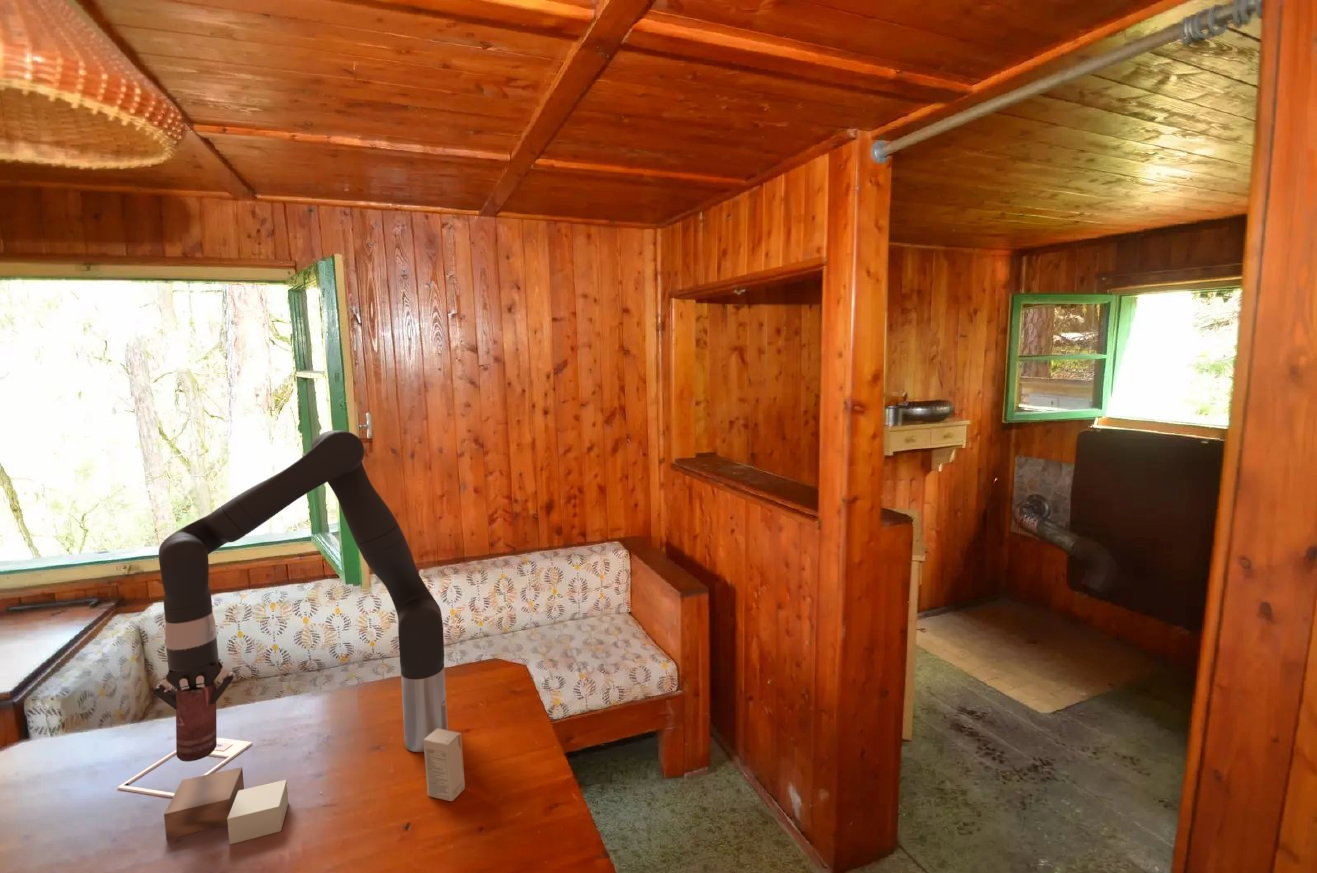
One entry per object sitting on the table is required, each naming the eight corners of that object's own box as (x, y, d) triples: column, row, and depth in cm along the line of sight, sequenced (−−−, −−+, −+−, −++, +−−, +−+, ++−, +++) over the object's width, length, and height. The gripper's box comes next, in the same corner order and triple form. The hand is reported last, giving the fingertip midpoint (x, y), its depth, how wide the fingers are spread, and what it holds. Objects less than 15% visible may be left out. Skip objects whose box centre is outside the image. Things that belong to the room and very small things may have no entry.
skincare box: (465, 788, 124) (463, 732, 122) (452, 803, 120) (449, 745, 118) (439, 781, 126) (437, 726, 125) (425, 795, 122) (422, 738, 120)
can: (195, 765, 112) (195, 694, 111) (168, 759, 114) (167, 688, 112) (225, 746, 118) (225, 678, 117) (199, 740, 120) (198, 673, 118)
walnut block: (244, 789, 124) (242, 767, 123) (231, 823, 115) (229, 799, 114) (184, 803, 120) (182, 780, 119) (166, 839, 111) (163, 814, 110)
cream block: (288, 803, 120) (286, 779, 119) (280, 831, 113) (278, 806, 112) (240, 814, 117) (238, 790, 116) (229, 844, 110) (227, 819, 109)
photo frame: (252, 741, 139) (176, 795, 121) (252, 746, 139) (177, 800, 121) (199, 734, 142) (117, 786, 124) (199, 739, 142) (117, 791, 124)
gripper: (238, 625, 119) (245, 708, 121) (155, 637, 114) (164, 723, 116) (228, 640, 113) (236, 728, 114) (139, 654, 107) (149, 745, 109)
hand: (199, 725), depth 115 cm, fingers closed
